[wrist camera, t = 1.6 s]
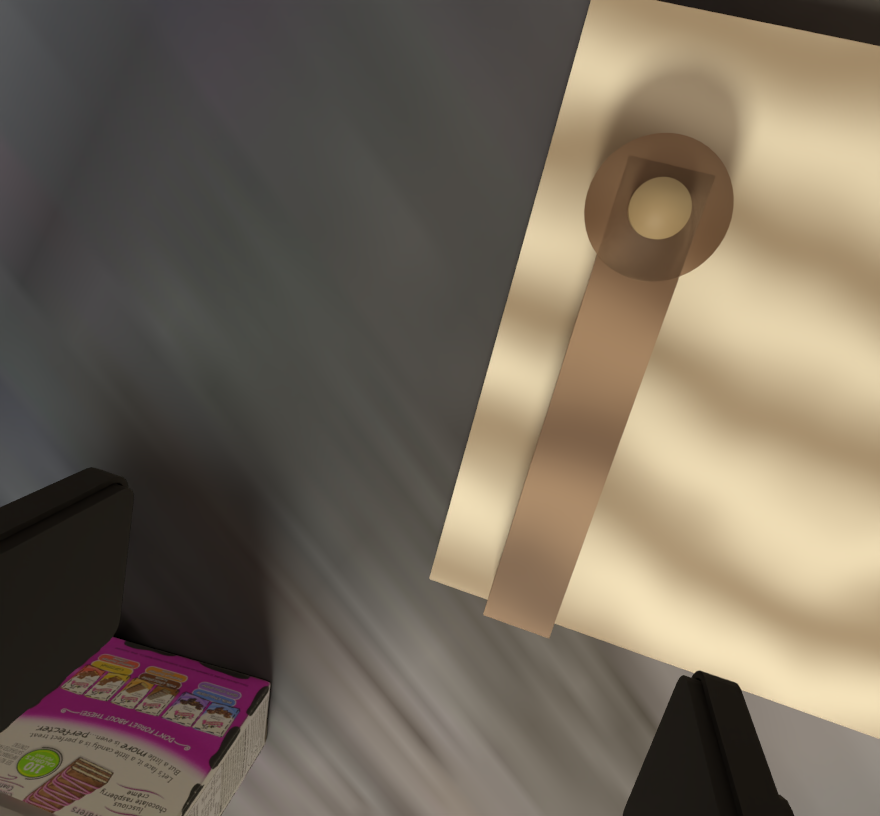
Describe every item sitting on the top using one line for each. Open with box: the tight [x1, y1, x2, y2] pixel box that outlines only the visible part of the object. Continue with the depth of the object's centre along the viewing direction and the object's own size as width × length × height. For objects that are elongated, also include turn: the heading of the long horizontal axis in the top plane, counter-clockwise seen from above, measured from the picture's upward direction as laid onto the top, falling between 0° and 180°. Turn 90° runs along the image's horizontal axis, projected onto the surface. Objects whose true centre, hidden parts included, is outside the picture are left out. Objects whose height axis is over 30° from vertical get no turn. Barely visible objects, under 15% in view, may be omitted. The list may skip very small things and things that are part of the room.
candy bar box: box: [0, 637, 270, 816], centre depth 32 cm, size 11×5×16 cm, turn 82°
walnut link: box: [483, 133, 734, 638], centre depth 26 cm, size 20×5×4 cm, turn 166°
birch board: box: [429, 0, 880, 739], centre depth 27 cm, size 26×25×2 cm
